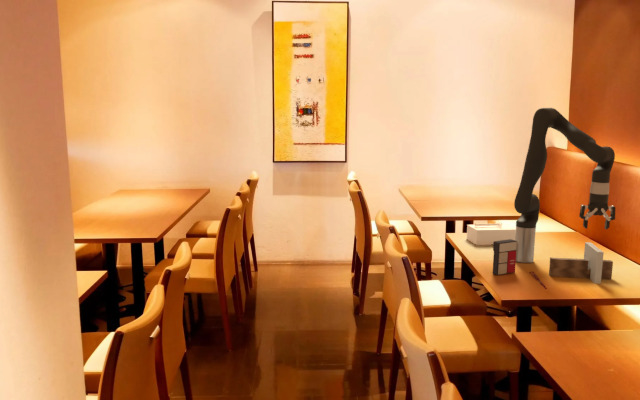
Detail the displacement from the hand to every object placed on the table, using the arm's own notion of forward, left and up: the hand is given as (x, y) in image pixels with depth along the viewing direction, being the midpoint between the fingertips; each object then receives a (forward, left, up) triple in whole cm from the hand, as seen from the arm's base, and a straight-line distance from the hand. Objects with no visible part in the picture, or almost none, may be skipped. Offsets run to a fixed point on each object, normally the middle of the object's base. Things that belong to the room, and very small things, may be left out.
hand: (595, 228), depth 260 cm
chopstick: (-24, -9, -23) cm, 35 cm away
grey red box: (-38, 0, -23) cm, 44 cm away
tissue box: (-34, +63, -23) cm, 76 cm away
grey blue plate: (0, 0, -22) cm, 22 cm away
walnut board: (-5, 0, -22) cm, 23 cm away
